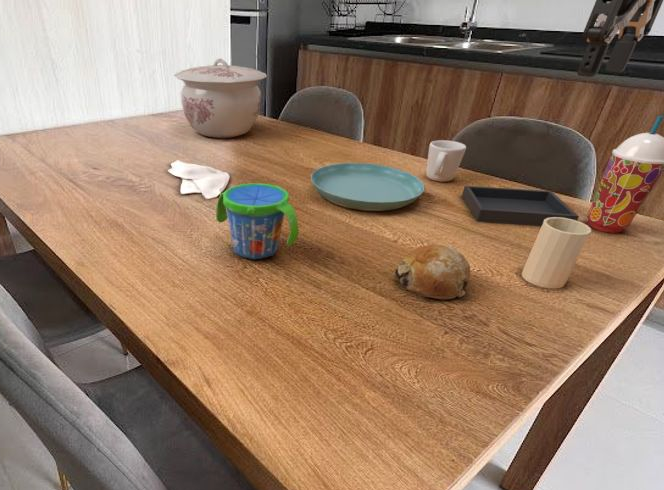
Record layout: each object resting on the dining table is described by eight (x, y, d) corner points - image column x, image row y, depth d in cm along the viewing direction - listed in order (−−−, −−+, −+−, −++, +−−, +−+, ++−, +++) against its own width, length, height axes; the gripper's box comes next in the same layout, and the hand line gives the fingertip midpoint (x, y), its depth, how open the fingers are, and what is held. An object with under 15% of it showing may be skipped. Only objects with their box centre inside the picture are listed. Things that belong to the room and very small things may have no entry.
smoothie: (580, 215, 91) (630, 108, 80) (630, 224, 88) (690, 115, 76) (577, 229, 86) (631, 117, 74) (630, 240, 82) (696, 124, 70)
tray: (546, 202, 97) (551, 190, 95) (573, 228, 86) (579, 216, 85) (461, 196, 99) (464, 185, 98) (476, 221, 88) (480, 209, 87)
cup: (450, 190, 102) (460, 154, 98) (415, 183, 106) (423, 148, 101) (459, 177, 110) (469, 143, 105) (426, 171, 113) (434, 138, 109)
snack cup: (201, 245, 79) (199, 189, 73) (244, 227, 85) (244, 174, 79) (267, 278, 70) (270, 217, 64) (309, 256, 76) (315, 198, 70)
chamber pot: (255, 147, 129) (256, 66, 117) (165, 141, 134) (158, 62, 122) (272, 125, 151) (275, 54, 139) (195, 120, 156) (191, 51, 144)
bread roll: (439, 325, 66) (480, 290, 61) (383, 283, 67) (417, 245, 62) (450, 294, 73) (487, 259, 68) (398, 256, 74) (431, 220, 69)
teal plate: (315, 215, 90) (316, 199, 88) (305, 175, 110) (306, 161, 108) (436, 217, 90) (440, 201, 88) (404, 177, 109) (407, 163, 107)
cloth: (244, 195, 99) (244, 185, 97) (182, 201, 95) (181, 191, 94) (215, 160, 119) (215, 152, 117) (164, 165, 115) (163, 156, 114)
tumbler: (555, 270, 73) (580, 218, 67) (571, 290, 68) (599, 235, 63) (516, 267, 73) (537, 215, 68) (528, 286, 69) (552, 232, 63)
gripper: (682, -91, 47) (607, 82, 56) (725, -79, 54) (652, 73, 63) (603, -84, 52) (546, 74, 61) (652, -74, 59) (594, 67, 68)
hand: (600, 73), depth 62 cm, fingers open, 8 cm apart
